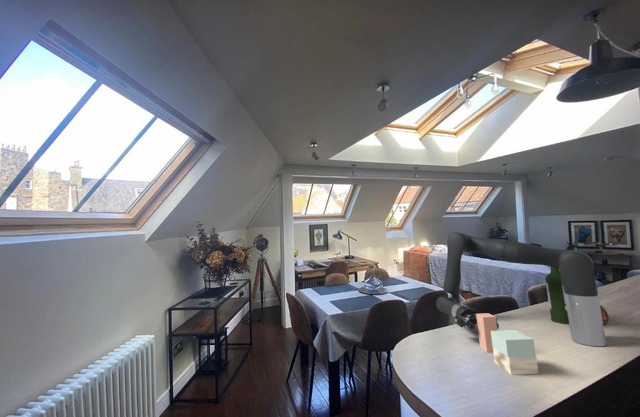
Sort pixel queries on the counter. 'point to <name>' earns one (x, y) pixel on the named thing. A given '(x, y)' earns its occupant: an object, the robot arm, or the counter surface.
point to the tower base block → (516, 363)
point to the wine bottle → (556, 297)
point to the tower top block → (513, 343)
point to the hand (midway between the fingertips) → (485, 326)
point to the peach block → (486, 330)
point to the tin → (604, 315)
